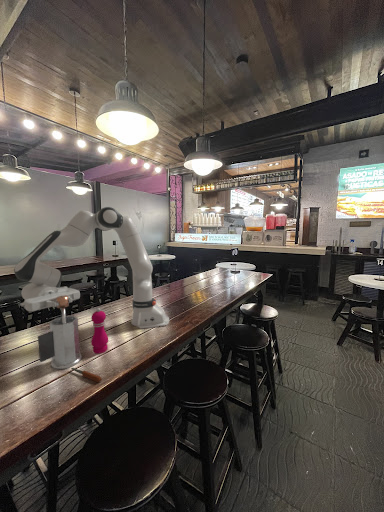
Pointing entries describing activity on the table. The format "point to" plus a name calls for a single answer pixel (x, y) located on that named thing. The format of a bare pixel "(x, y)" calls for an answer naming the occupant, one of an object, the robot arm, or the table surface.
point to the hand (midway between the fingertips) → (64, 302)
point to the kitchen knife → (88, 375)
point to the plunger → (63, 306)
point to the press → (61, 343)
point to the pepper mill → (99, 332)
